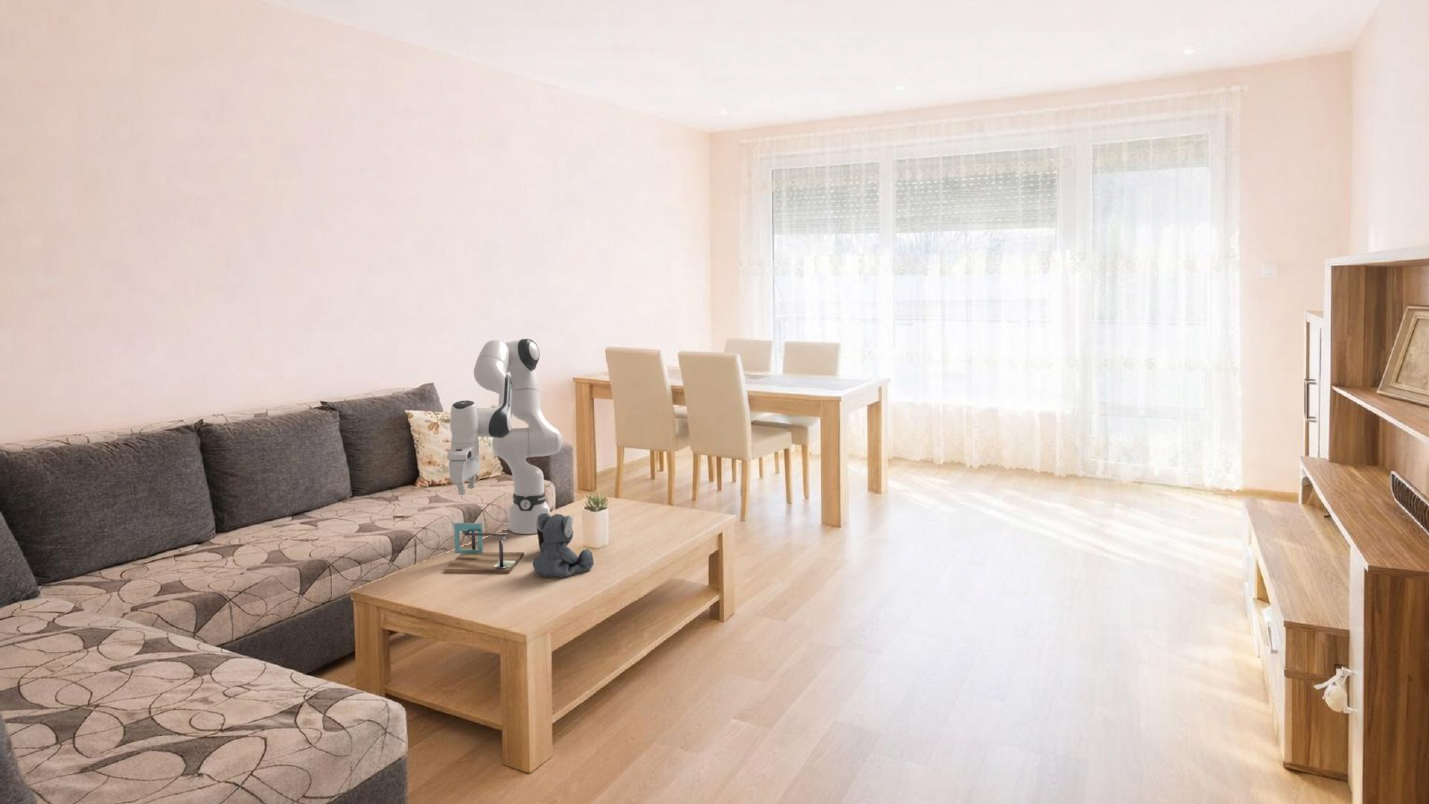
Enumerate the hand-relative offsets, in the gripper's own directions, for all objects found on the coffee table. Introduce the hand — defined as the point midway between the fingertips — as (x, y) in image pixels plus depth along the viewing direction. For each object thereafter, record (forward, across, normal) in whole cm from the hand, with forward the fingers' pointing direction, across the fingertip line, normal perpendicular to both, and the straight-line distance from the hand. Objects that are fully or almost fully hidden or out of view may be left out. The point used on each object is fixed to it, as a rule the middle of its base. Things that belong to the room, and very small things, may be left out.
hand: (466, 491), depth 285 cm
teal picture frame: (+21, 0, 0) cm, 21 cm away
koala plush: (+24, +9, +32) cm, 42 cm away
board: (+24, +3, +6) cm, 25 cm away
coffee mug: (+24, -12, +25) cm, 37 cm away
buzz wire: (+23, +2, +7) cm, 24 cm away
